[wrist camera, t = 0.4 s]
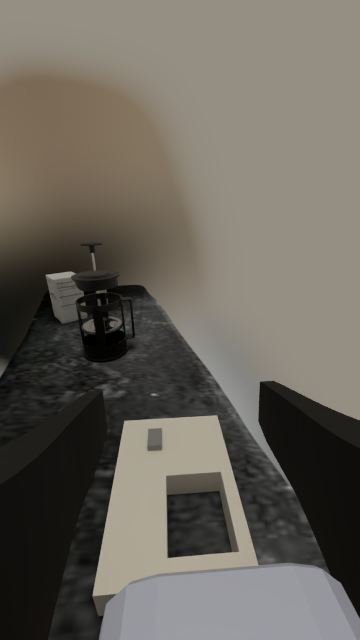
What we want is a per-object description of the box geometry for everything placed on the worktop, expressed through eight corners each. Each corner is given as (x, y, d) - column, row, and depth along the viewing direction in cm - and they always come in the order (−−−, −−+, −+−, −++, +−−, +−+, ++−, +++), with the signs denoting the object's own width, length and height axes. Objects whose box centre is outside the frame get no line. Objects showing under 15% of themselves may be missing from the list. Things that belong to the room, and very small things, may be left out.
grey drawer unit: (54, 317, 74) (44, 274, 69) (79, 311, 78) (72, 270, 73) (61, 324, 69) (52, 279, 64) (88, 317, 73) (81, 275, 68)
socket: (257, 600, 19) (263, 573, 18) (98, 616, 18) (90, 590, 17) (216, 432, 34) (217, 410, 32) (126, 438, 33) (123, 416, 32)
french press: (76, 365, 50) (52, 245, 41) (84, 343, 58) (66, 240, 49) (136, 359, 51) (125, 243, 43) (135, 338, 60) (126, 238, 51)
